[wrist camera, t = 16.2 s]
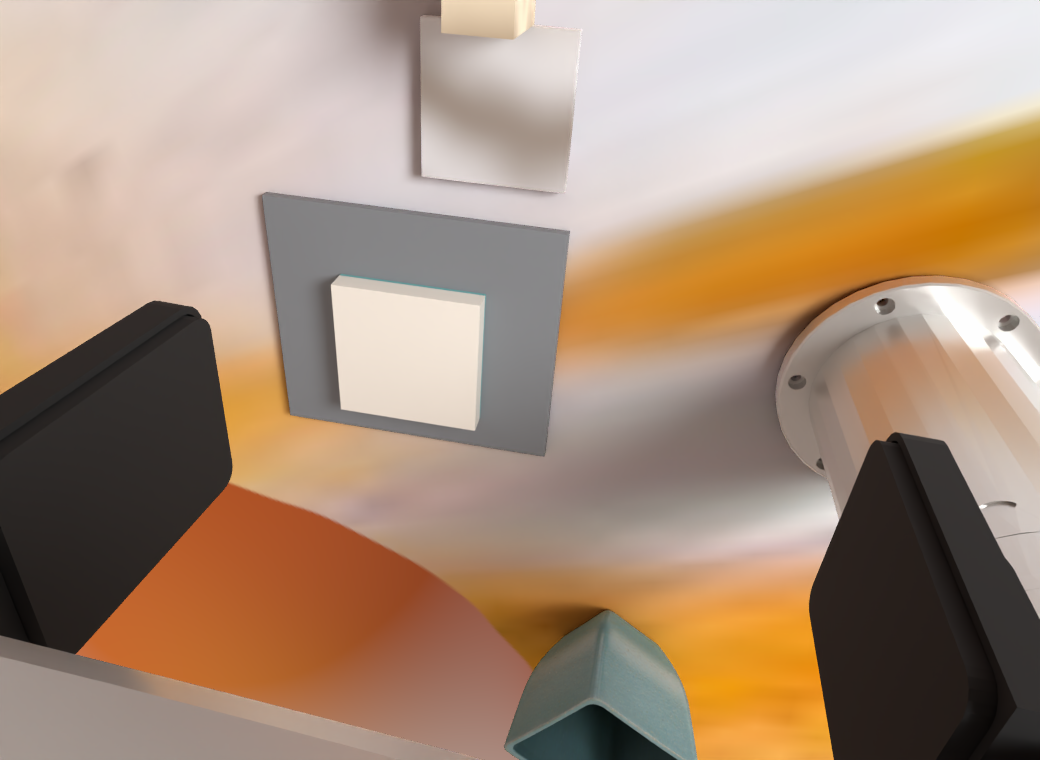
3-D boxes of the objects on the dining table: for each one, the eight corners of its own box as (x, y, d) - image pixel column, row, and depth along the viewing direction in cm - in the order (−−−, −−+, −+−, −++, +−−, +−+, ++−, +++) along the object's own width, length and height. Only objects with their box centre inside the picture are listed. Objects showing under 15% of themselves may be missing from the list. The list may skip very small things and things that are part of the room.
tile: (480, 305, 37) (474, 430, 41) (485, 294, 38) (480, 416, 42) (330, 284, 38) (341, 409, 42) (340, 273, 39) (349, 396, 43)
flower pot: (523, 633, 53) (499, 750, 45) (605, 578, 48) (593, 697, 41) (611, 694, 55) (602, 815, 47) (698, 646, 50) (703, 772, 43)
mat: (569, 231, 36) (568, 234, 35) (545, 451, 43) (544, 456, 43) (266, 192, 38) (261, 195, 37) (293, 410, 45) (290, 415, 45)
